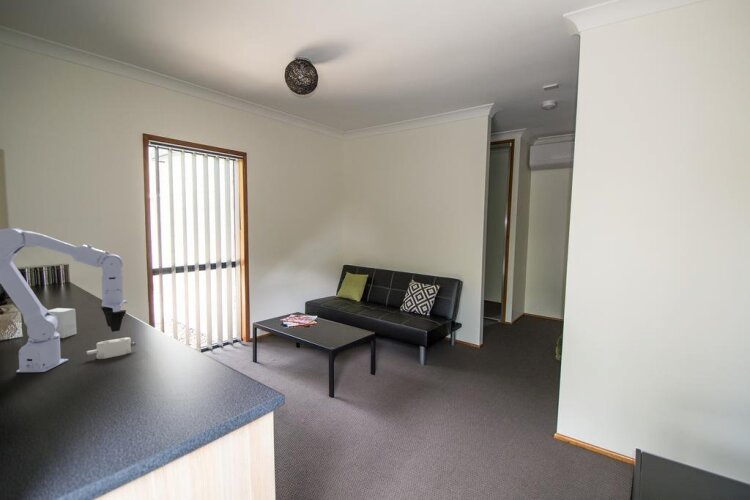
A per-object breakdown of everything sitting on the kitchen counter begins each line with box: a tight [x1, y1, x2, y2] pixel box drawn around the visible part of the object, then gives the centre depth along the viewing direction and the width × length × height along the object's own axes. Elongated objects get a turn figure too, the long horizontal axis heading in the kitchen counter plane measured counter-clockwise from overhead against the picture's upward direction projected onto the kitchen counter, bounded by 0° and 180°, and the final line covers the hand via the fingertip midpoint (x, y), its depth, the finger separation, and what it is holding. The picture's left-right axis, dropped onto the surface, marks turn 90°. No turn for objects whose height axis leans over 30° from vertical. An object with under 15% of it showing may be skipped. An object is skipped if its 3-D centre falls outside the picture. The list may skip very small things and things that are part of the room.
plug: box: [86, 336, 137, 360], centre depth 120 cm, size 13×4×5 cm, turn 135°
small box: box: [47, 307, 77, 339], centre depth 138 cm, size 8×6×10 cm
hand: (113, 328), depth 120 cm, fingers open, 7 cm apart
